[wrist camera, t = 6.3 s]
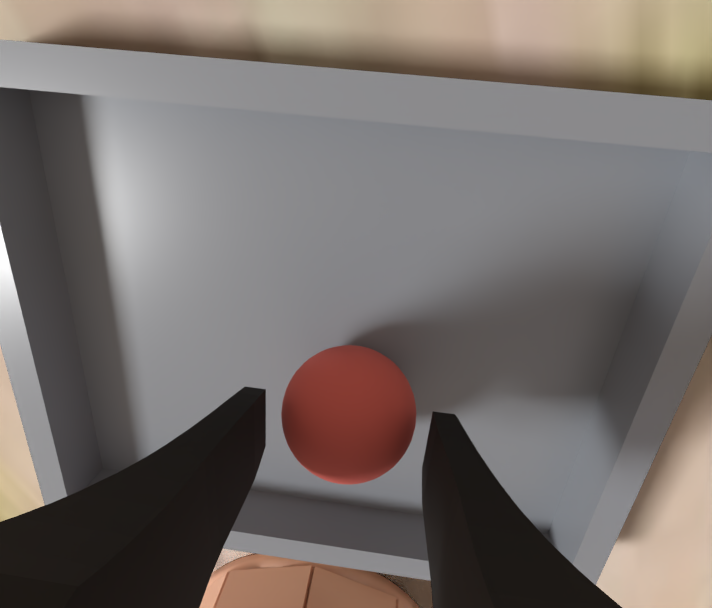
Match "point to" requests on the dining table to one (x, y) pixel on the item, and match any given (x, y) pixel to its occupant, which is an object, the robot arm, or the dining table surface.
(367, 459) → the ball
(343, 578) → the pink bowl
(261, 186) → the tray
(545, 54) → the dining table surface
